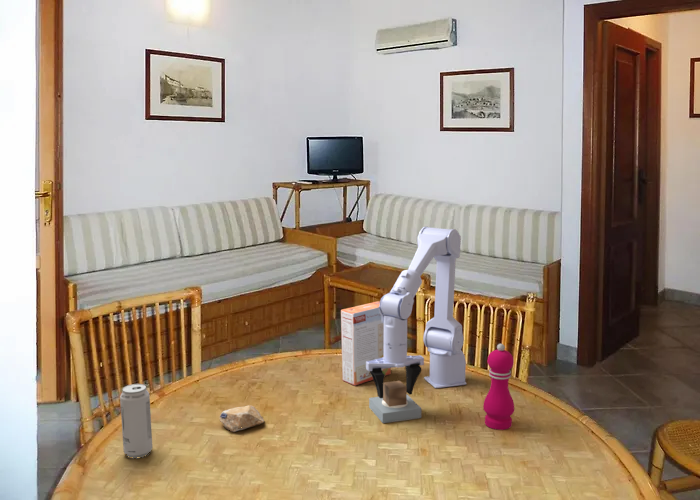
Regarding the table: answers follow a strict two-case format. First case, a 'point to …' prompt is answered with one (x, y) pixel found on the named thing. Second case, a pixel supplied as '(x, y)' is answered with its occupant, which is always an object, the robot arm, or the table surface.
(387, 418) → the plinth
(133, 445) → the energy drink can
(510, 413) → the pepper mill
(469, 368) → the table surface
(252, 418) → the stone
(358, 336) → the cracker box
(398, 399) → the walnut block
